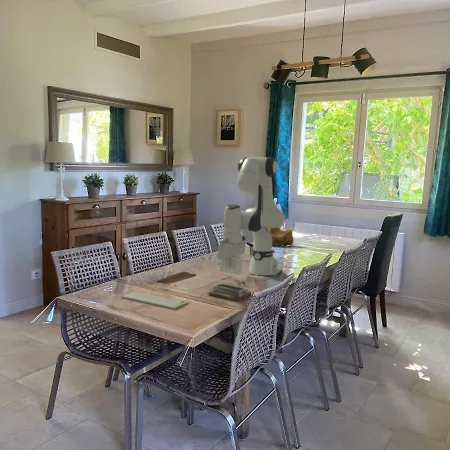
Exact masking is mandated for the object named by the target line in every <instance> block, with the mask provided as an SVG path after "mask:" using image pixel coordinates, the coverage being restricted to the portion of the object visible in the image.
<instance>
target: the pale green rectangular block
mask: <svg viewBox="0 0 450 450" xmlns="http://www.w3.org/2000/svg"><path fill="white" fill-rule="evenodd" d="M229 261H230V263H231V266H230V267H226V262H225V260H220V259H219V271H220V272H224V273H230V274H235V275H241V274H242V273H243V272H242V270H243V257H242V256H235V257H232V258H230V260H229Z"/></svg>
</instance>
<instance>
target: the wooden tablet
mask: <svg viewBox="0 0 450 450" xmlns="http://www.w3.org/2000/svg"><path fill="white" fill-rule="evenodd" d="M195 276H197V273H190V272H189V271H181V272H179V273H175V274H172V275H170V276H167V277H163V278H161V279H158V280H156V283H159V284H165V285H166V284H167V285H169V284H173V283H177V282H180V281H183V280H185V279H189V278H191V277H195Z"/></svg>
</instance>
